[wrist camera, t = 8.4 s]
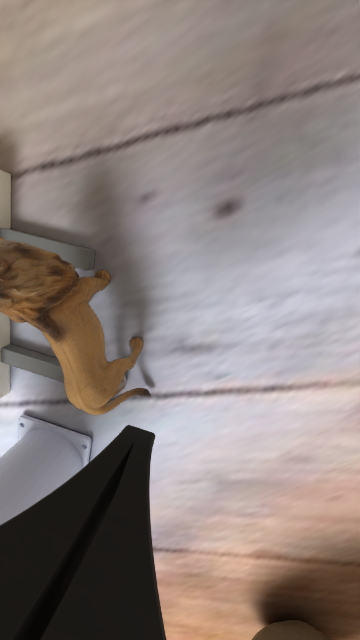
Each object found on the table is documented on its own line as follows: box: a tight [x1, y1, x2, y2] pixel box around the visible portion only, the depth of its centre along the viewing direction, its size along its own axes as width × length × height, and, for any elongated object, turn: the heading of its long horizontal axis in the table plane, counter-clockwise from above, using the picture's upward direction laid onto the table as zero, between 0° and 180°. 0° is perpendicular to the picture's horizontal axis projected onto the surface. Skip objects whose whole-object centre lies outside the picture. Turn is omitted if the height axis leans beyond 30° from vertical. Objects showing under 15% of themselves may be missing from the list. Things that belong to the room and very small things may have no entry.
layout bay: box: [0, 170, 95, 398], centre depth 19 cm, size 20×10×2 cm, turn 167°
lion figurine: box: [0, 237, 151, 415], centre depth 16 cm, size 15×5×9 cm, turn 30°
